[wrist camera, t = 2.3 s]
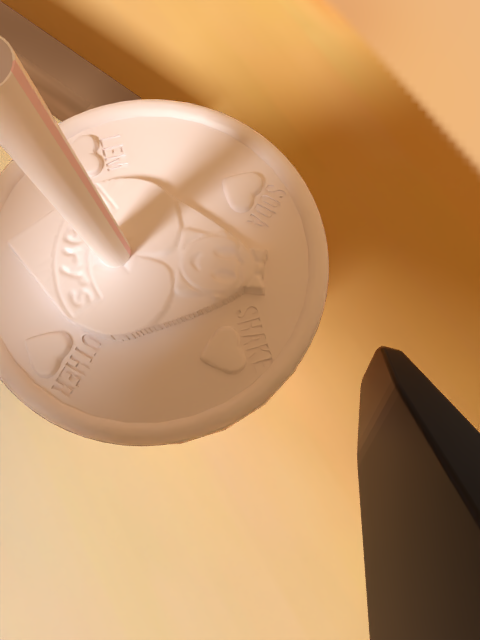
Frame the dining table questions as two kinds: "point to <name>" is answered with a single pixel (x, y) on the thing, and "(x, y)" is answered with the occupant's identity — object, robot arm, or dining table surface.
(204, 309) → the smoothie
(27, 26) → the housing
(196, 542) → the dining table surface
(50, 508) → the dining table surface
